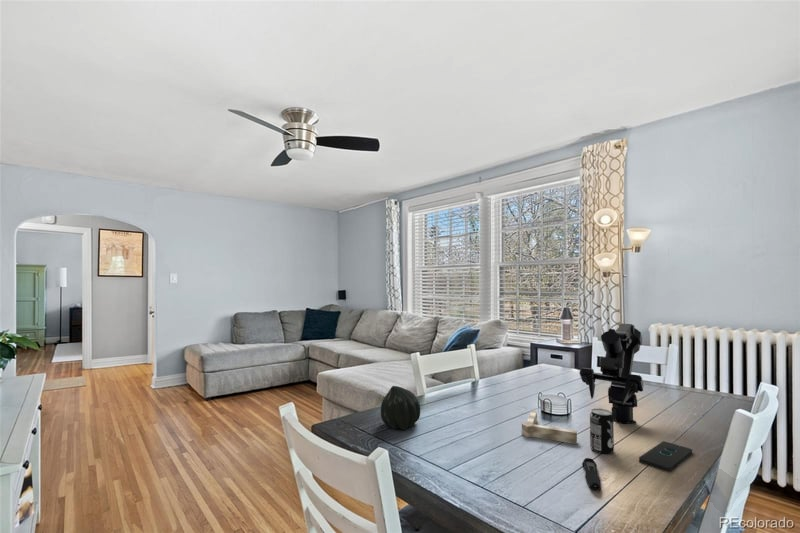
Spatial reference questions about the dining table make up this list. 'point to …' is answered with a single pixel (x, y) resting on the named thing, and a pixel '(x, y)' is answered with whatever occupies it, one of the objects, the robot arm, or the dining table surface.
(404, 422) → the squash
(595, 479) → the electric trimmer
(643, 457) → the smart home device
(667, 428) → the dining table surface
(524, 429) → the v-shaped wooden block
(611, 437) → the beverage can
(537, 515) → the dining table surface
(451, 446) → the dining table surface
